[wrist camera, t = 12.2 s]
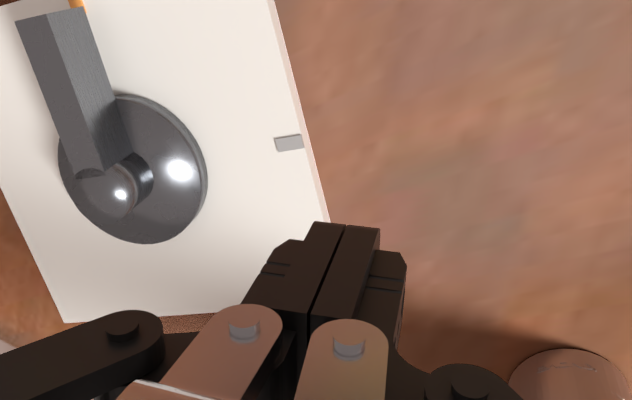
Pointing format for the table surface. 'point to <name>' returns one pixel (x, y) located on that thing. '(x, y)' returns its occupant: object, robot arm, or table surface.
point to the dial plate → (207, 128)
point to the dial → (113, 137)
